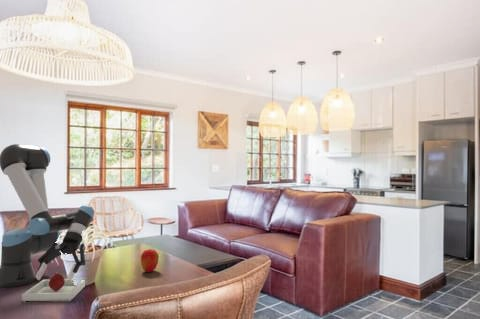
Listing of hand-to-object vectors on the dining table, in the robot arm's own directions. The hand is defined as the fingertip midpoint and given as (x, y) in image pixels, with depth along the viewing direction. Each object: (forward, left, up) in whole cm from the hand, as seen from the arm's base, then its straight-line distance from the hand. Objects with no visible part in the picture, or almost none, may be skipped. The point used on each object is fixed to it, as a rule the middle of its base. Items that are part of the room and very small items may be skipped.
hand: (53, 279), depth 137 cm
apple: (+34, +31, -7) cm, 47 cm away
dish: (0, +2, -7) cm, 7 cm away
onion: (+1, +2, -6) cm, 7 cm away
